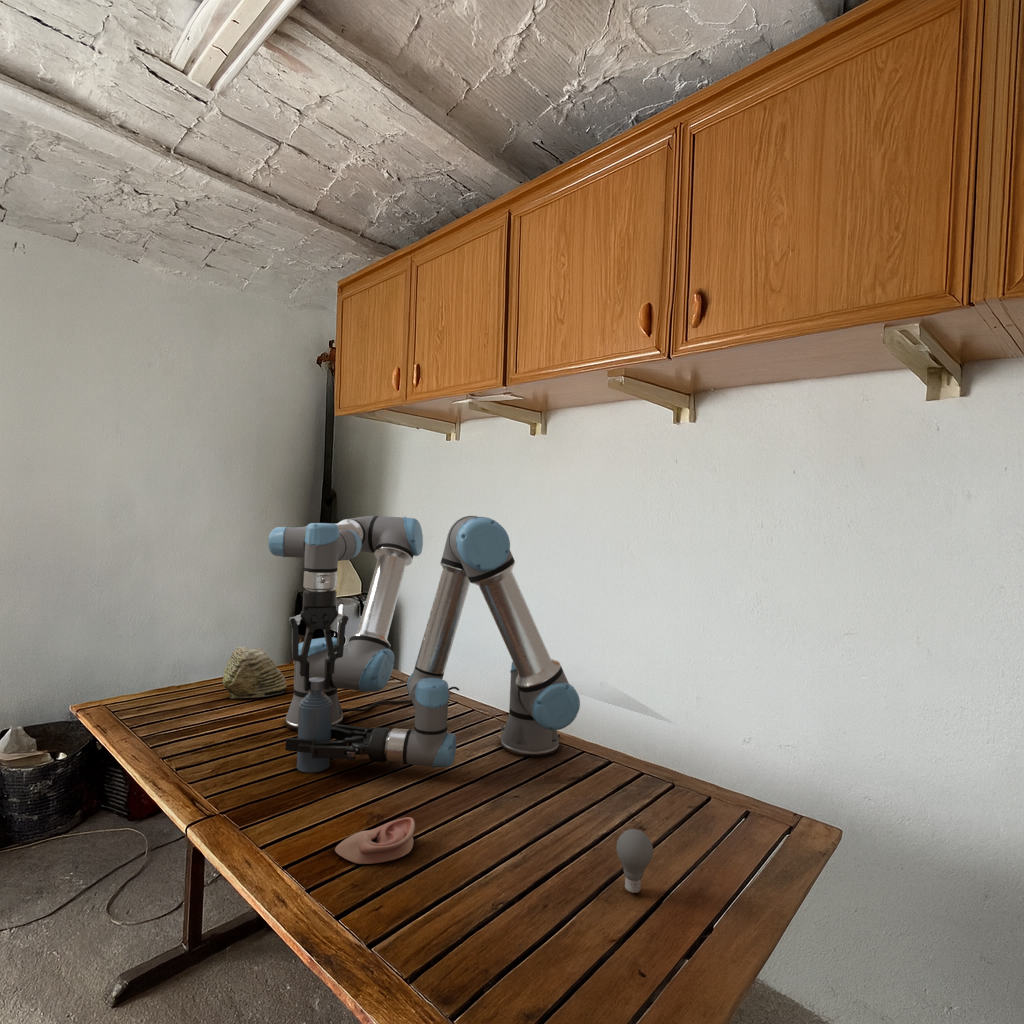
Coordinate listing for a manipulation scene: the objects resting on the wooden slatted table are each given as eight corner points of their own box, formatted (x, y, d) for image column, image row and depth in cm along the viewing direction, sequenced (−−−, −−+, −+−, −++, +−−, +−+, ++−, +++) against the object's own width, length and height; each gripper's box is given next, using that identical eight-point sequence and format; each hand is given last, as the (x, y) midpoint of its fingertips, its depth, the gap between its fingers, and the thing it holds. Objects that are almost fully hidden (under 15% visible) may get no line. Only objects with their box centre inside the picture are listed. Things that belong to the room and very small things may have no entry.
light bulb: (610, 879, 108) (613, 822, 108) (644, 879, 109) (647, 822, 109) (619, 902, 102) (622, 840, 102) (655, 901, 103) (658, 840, 103)
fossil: (218, 695, 195) (220, 647, 195) (278, 685, 208) (279, 640, 207) (228, 703, 189) (230, 653, 188) (289, 692, 201) (290, 645, 201)
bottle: (332, 769, 147) (335, 684, 147) (298, 774, 144) (301, 687, 143) (327, 757, 154) (330, 676, 153) (294, 761, 151) (297, 678, 150)
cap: (318, 684, 151) (318, 676, 151) (329, 688, 149) (329, 679, 149) (303, 688, 148) (304, 679, 148) (314, 691, 146) (315, 683, 146)
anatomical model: (327, 836, 111) (356, 806, 122) (326, 858, 111) (355, 826, 122) (398, 848, 108) (421, 815, 119) (397, 871, 108) (420, 836, 119)
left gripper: (283, 592, 141) (279, 697, 141) (360, 590, 148) (356, 689, 149) (279, 587, 148) (276, 687, 148) (353, 586, 155) (349, 681, 156)
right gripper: (374, 780, 137) (273, 771, 139) (400, 744, 157) (311, 737, 159) (375, 746, 137) (274, 737, 139) (401, 714, 157) (312, 707, 159)
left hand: (316, 688), depth 148 cm, fingers closed on cap, 4 cm apart
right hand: (294, 737), depth 149 cm, fingers closed on bottle, 8 cm apart
